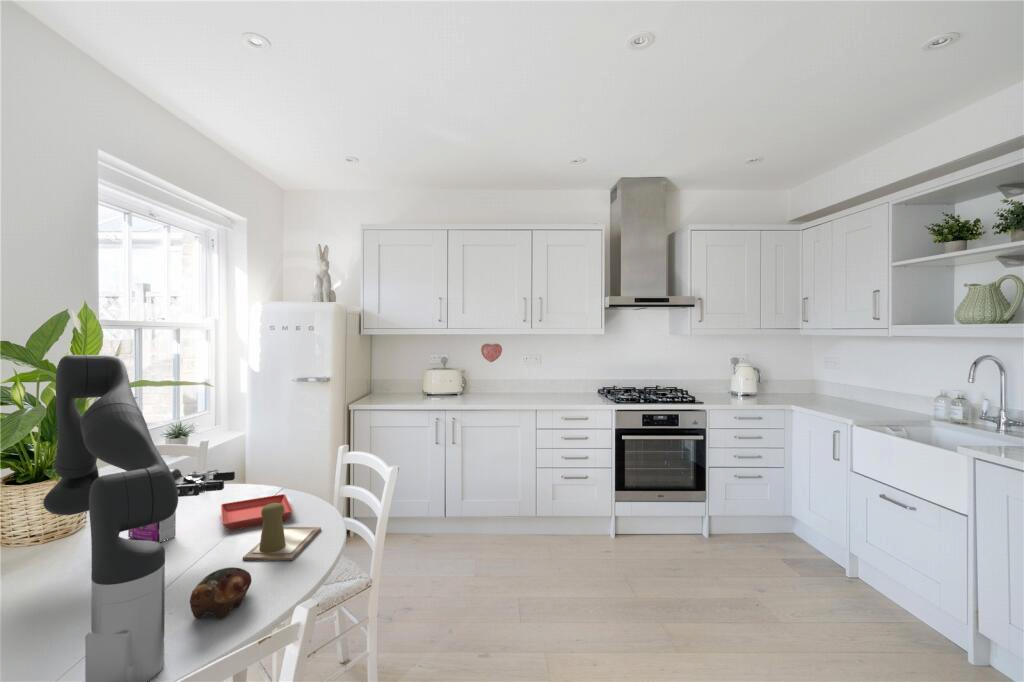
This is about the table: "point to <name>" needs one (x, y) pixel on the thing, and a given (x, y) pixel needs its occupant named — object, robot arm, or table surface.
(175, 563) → the table surface
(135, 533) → the candy bar box
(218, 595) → the brown lumpy oval piece
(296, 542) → the brown picture frame
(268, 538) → the cork
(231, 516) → the plant saucer
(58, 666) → the table surface
